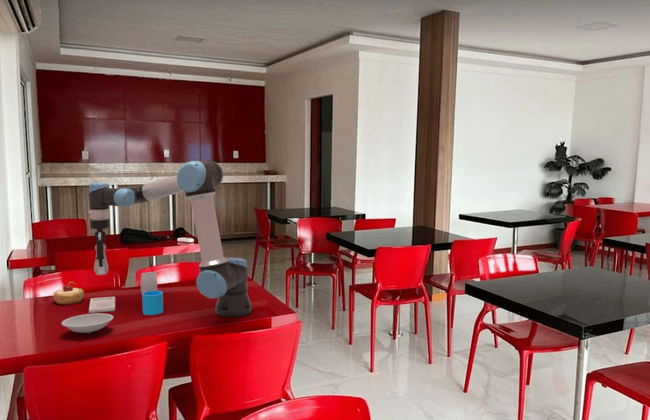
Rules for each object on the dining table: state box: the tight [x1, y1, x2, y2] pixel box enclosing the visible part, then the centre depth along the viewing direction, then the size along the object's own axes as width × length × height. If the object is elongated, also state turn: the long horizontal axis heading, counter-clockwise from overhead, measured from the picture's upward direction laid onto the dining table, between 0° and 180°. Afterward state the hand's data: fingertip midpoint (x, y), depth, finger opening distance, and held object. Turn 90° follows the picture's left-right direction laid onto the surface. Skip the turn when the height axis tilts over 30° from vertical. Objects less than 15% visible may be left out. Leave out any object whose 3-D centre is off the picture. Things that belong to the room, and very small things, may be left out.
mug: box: [141, 290, 164, 316], centre depth 222 cm, size 12×8×8 cm
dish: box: [61, 312, 114, 334], centre depth 195 cm, size 18×14×5 cm
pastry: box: [53, 281, 85, 306], centre depth 233 cm, size 12×12×9 cm
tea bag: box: [140, 271, 158, 295], centre depth 248 cm, size 4×7×10 cm, turn 120°
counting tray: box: [88, 296, 116, 314], centre depth 227 cm, size 17×10×2 cm, turn 21°
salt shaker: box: [93, 243, 109, 276], centre depth 225 cm, size 6×6×13 cm
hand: (101, 272), depth 226 cm, fingers closed on salt shaker, 6 cm apart
